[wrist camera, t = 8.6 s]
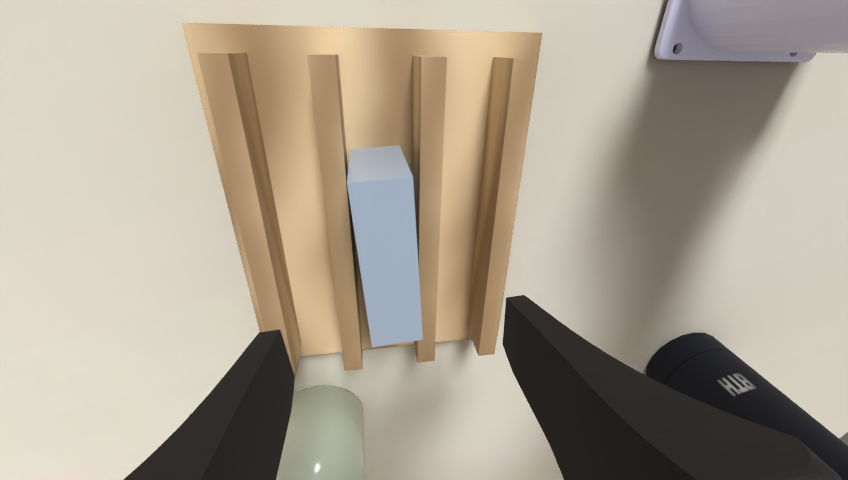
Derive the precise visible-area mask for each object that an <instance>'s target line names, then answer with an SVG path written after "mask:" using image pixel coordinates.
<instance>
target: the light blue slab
mask: <svg viewBox="0 0 848 480" xmlns="http://www.w3.org/2000/svg"><path fill="white" fill-rule="evenodd" d="M347 187H348V193H349V200H350V206H351V213H352V220H353V226H354V233H355V239H356V246H357V252H358V259H359V265H360V272H361V278H362V285H363V291H364V298H365V304H366V311H367V318H368V324H369V331H370V337H371V344H372V347H378V346H385V345H392V344H398V343H405V342H412V341H418V340H423V331H422V315H421V299H420V282H419V266H418V250H417V234H416V217H415V201H414V185H413V176H412V173H411V171H410V169H409V166H408V164H407V162H406V159H405V157H404V155H403V152H402V150H401V148H400V145H396V146H384V147H373V148H361V149H350V152H349V164H348V176H347Z"/></svg>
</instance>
